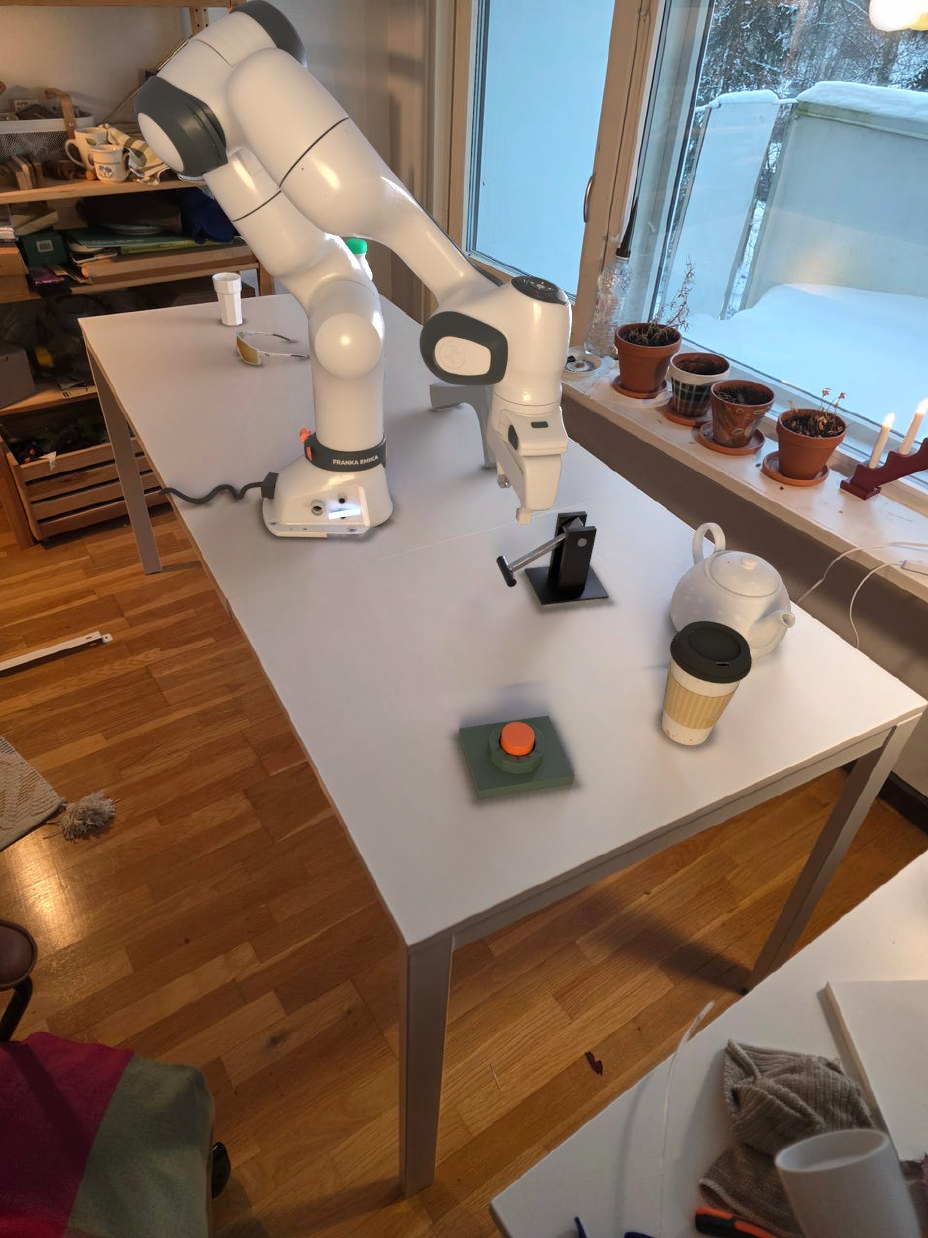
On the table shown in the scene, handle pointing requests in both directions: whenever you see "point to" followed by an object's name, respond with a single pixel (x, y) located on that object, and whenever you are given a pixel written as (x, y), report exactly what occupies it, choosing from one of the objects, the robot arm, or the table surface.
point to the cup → (229, 297)
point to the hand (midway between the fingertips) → (513, 503)
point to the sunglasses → (253, 354)
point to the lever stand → (569, 566)
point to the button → (517, 739)
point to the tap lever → (532, 555)
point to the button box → (514, 760)
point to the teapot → (733, 594)
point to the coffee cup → (702, 679)
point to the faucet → (474, 395)
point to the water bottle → (359, 253)
